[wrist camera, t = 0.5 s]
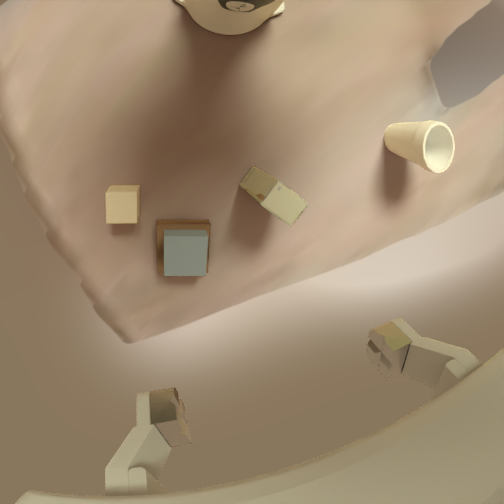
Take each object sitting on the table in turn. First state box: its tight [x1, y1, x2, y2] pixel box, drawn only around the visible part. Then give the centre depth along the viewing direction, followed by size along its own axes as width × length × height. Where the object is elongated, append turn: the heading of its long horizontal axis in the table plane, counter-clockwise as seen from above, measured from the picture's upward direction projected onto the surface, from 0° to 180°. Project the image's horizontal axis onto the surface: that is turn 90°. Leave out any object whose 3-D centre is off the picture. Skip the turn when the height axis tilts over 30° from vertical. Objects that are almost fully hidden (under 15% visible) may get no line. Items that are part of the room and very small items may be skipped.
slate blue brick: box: [164, 230, 208, 276], centre depth 50 cm, size 7×7×3 cm
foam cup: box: [384, 120, 455, 173], centre depth 49 cm, size 10×9×13 cm
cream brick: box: [105, 185, 140, 224], centre depth 45 cm, size 5×5×5 cm
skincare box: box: [240, 166, 308, 226], centre depth 47 cm, size 6×4×12 cm
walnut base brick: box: [156, 220, 211, 273], centre depth 52 cm, size 9×9×3 cm
